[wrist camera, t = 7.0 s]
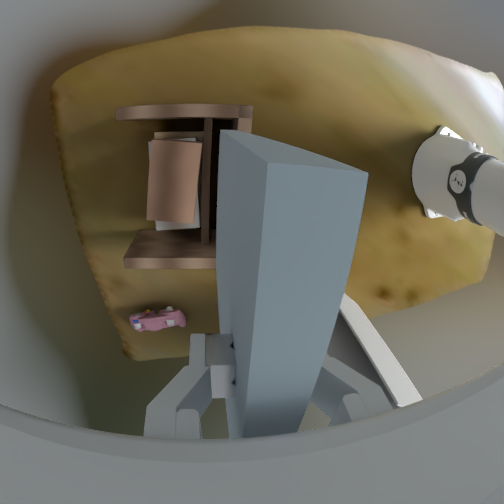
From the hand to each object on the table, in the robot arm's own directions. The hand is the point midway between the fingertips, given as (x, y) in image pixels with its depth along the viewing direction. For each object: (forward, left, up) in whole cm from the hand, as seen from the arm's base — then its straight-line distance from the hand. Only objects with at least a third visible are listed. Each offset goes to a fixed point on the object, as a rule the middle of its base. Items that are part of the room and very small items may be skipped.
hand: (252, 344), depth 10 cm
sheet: (0, 0, -20) cm, 20 cm away
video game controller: (+11, +25, -35) cm, 44 cm away
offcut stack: (+6, 0, -35) cm, 35 cm away
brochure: (-21, +22, -35) cm, 46 cm away
